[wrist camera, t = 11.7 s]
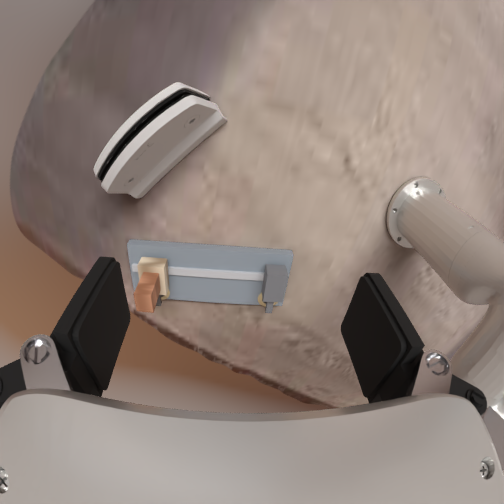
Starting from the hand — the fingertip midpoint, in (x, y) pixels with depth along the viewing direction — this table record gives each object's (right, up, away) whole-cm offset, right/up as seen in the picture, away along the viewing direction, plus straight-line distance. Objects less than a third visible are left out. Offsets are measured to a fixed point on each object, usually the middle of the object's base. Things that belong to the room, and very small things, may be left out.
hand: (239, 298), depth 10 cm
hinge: (-11, +17, +23) cm, 30 cm away
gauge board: (-6, -1, +33) cm, 34 cm away
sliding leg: (-14, -2, +31) cm, 35 cm away
